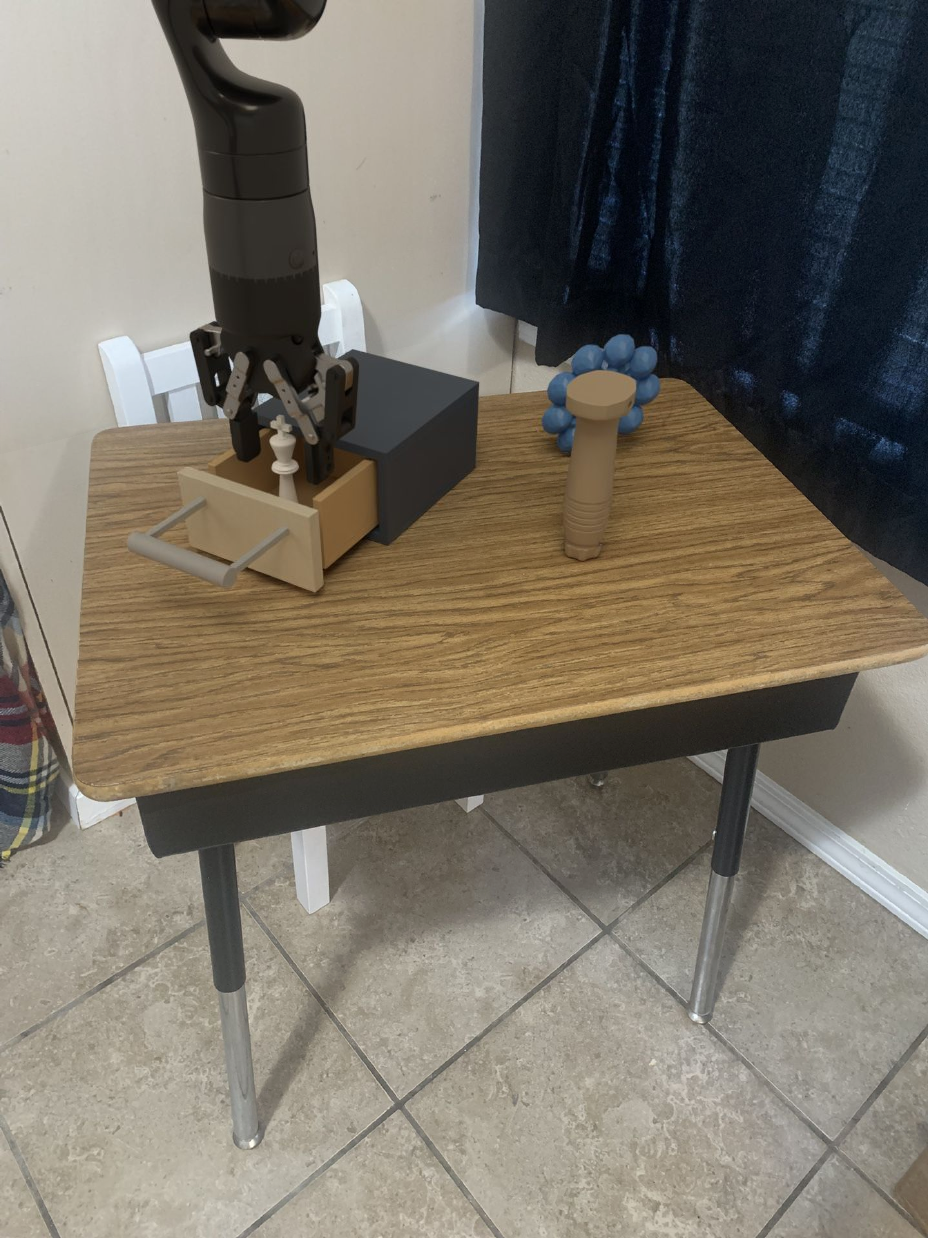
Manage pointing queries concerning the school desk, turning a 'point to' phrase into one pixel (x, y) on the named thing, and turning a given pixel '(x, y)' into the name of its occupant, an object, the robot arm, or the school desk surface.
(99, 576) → the school desk surface
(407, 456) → the cabinet
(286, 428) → the chess piece
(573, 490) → the handle
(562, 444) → the grapes
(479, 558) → the school desk surface
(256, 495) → the drawer
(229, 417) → the robot arm
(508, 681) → the school desk surface
